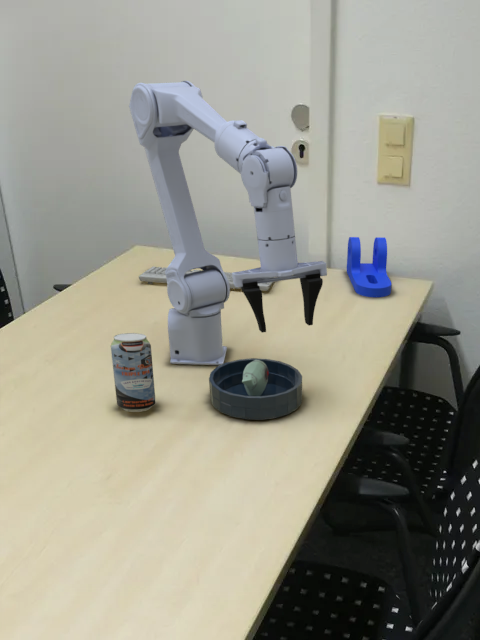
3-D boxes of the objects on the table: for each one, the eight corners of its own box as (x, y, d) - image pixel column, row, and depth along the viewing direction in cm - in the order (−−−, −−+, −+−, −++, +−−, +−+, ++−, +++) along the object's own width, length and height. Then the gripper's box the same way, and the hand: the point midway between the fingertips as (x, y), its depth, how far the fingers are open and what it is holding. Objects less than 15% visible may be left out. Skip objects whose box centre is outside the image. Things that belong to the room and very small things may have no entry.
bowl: (205, 419, 124) (203, 395, 122) (216, 379, 136) (214, 356, 134) (300, 422, 125) (300, 399, 123) (302, 382, 137) (303, 360, 135)
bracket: (346, 271, 189) (348, 233, 183) (380, 272, 190) (382, 233, 185) (357, 297, 174) (359, 256, 169) (393, 297, 176) (397, 257, 170)
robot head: (250, 387, 134) (249, 350, 130) (273, 389, 134) (273, 352, 130) (238, 407, 128) (237, 369, 124) (263, 410, 127) (262, 372, 123)
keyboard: (275, 279, 181) (275, 270, 180) (268, 294, 173) (268, 285, 172) (152, 269, 182) (151, 261, 181) (139, 284, 173) (138, 275, 172)
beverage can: (118, 419, 123) (107, 347, 116) (117, 398, 128) (107, 328, 121) (158, 416, 124) (151, 344, 117) (156, 395, 130) (148, 326, 123)
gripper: (234, 246, 112) (246, 340, 119) (329, 235, 116) (336, 326, 122) (225, 240, 118) (237, 329, 125) (316, 229, 122) (323, 316, 128)
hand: (286, 327), depth 124 cm, fingers open, 7 cm apart
